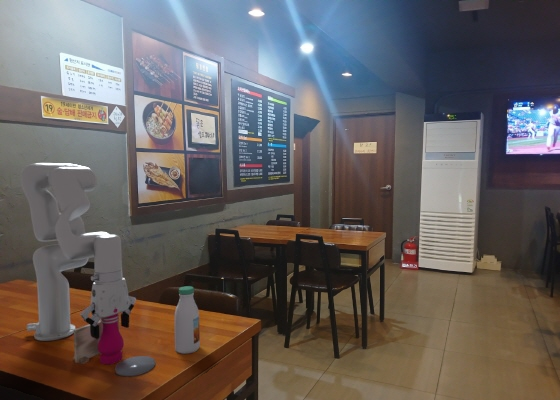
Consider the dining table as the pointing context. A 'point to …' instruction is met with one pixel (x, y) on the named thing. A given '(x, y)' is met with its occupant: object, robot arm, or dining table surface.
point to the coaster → (135, 366)
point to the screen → (86, 343)
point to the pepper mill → (110, 340)
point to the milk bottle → (186, 322)
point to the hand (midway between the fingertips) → (110, 332)
